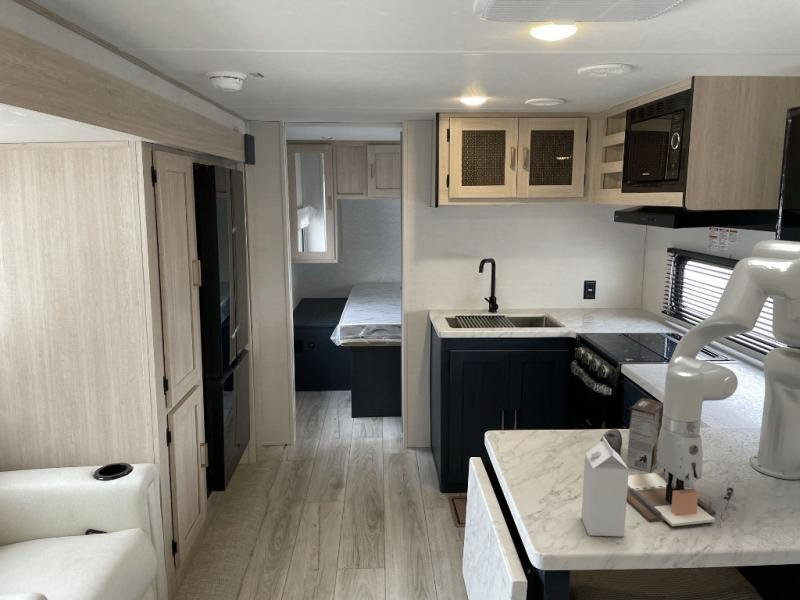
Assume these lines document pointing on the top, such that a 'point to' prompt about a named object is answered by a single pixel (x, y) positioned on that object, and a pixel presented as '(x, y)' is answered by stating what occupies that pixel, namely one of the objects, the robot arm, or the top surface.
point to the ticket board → (652, 495)
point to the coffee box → (644, 434)
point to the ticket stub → (684, 509)
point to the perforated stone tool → (614, 439)
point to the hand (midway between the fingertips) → (673, 501)
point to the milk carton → (604, 491)
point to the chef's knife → (720, 504)
